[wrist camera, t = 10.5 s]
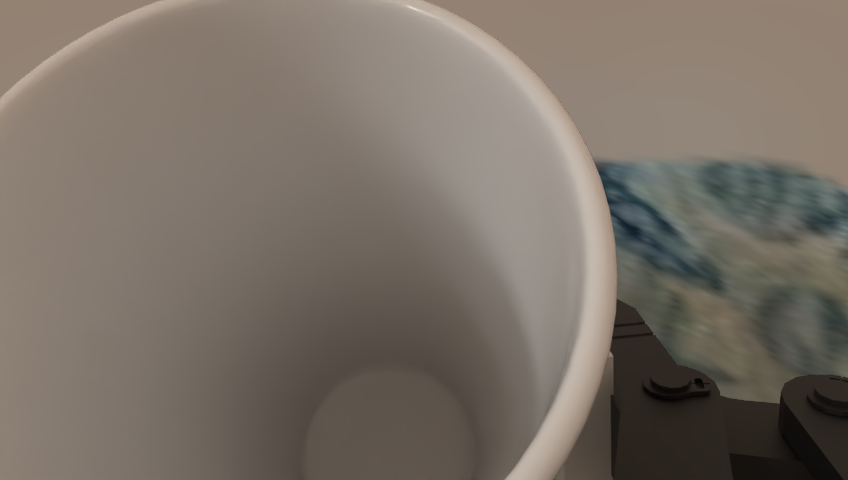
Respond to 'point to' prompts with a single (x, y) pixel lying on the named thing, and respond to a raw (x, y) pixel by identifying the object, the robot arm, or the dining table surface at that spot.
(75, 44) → the white cup
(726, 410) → the robot arm
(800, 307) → the dining table surface
